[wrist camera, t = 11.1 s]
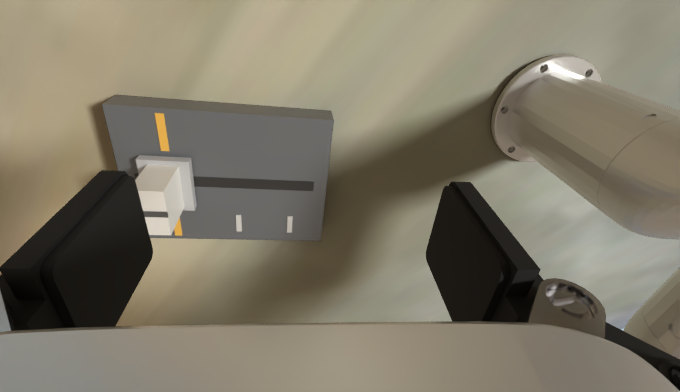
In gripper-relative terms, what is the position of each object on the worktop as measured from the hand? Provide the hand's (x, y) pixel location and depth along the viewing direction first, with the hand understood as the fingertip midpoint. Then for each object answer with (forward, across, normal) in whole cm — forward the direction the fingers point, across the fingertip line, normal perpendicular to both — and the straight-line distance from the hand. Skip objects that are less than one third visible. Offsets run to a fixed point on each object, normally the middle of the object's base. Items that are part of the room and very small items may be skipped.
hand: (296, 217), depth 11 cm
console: (+29, +8, +14) cm, 33 cm away
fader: (+25, +14, +14) cm, 32 cm away
